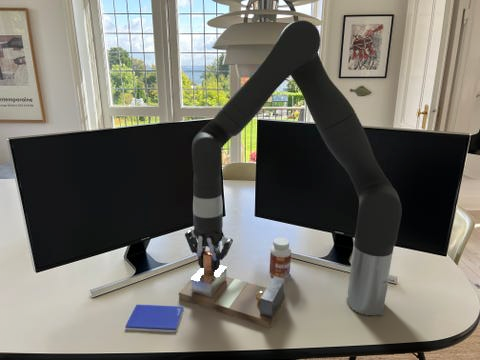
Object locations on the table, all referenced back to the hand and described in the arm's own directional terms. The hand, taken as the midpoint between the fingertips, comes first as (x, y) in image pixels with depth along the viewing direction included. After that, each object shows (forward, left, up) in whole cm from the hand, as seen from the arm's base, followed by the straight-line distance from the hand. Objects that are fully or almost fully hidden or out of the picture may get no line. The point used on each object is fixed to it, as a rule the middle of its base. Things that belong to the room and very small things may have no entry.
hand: (209, 268), depth 92 cm
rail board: (-7, 0, -8) cm, 10 cm away
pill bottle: (-15, -17, -8) cm, 24 cm away
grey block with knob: (-17, 0, -6) cm, 18 cm away
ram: (0, 0, -5) cm, 5 cm away
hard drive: (+7, +15, -8) cm, 19 cm away
